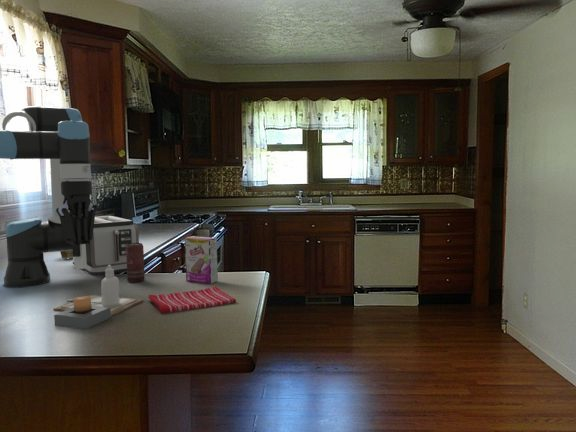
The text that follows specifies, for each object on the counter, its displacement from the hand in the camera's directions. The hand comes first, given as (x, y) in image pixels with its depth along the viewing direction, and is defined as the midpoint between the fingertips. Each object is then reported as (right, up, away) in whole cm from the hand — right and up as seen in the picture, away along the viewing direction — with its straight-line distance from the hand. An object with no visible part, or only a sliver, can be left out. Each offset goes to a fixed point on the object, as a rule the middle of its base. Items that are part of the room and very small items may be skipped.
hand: (80, 267), depth 130 cm
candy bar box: (+24, -10, +47) cm, 54 cm away
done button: (0, -11, +1) cm, 12 cm away
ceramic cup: (-48, -6, +98) cm, 109 cm away
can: (0, -10, +49) cm, 50 cm away
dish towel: (+26, -14, +21) cm, 36 cm away
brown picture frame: (-1, -13, +17) cm, 22 cm away
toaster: (-22, -8, +75) cm, 79 cm away
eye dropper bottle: (+2, -13, +16) cm, 20 cm away
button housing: (0, -15, +2) cm, 15 cm away
